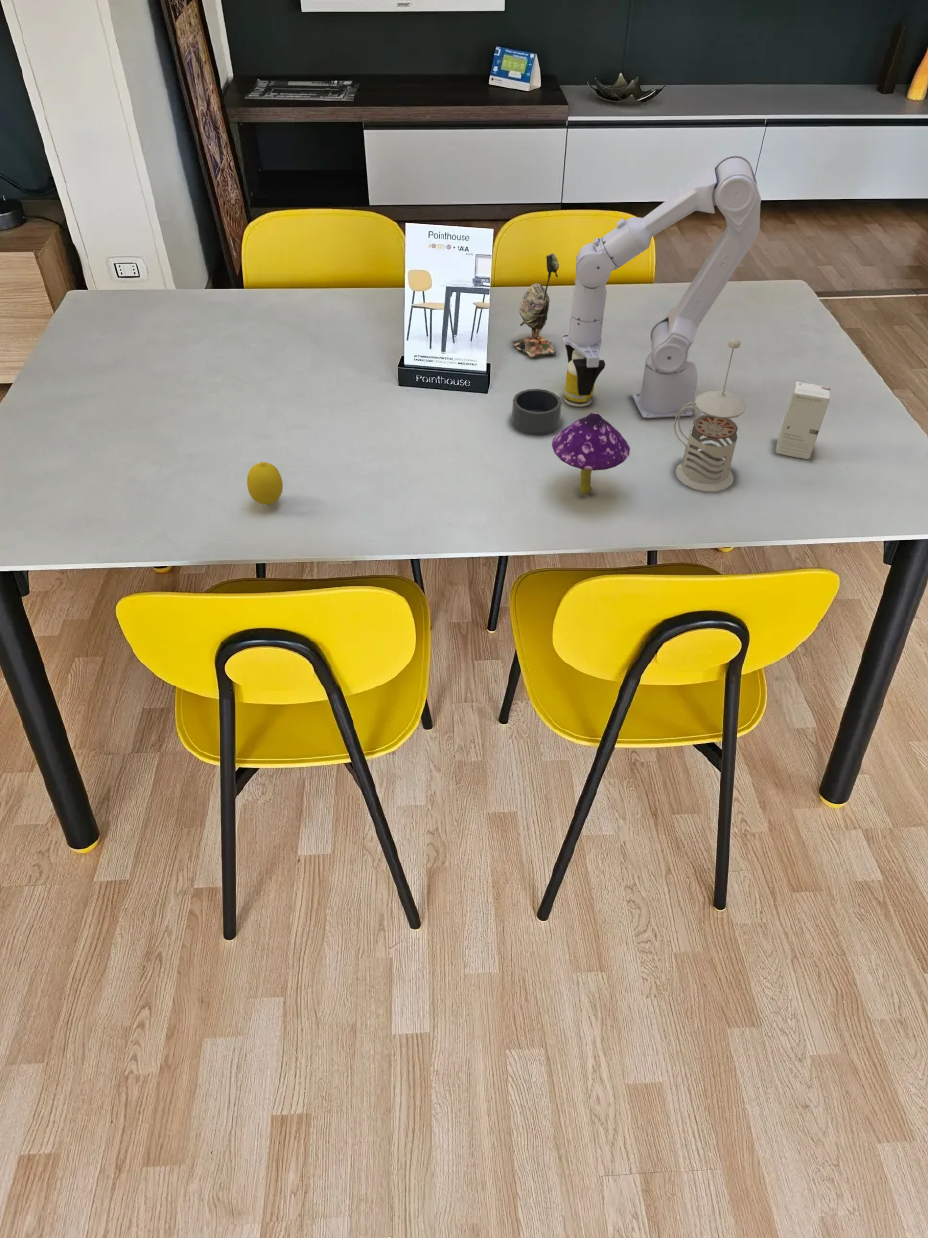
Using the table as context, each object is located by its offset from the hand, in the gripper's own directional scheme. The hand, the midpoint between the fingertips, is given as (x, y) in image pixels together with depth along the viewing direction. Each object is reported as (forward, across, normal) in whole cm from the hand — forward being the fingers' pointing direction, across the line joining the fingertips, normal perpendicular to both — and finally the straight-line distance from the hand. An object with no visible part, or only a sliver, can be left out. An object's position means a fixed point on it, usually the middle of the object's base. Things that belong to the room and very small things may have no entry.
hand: (579, 384), depth 177 cm
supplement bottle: (+4, 0, 0) cm, 4 cm away
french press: (+4, +26, +16) cm, 30 cm away
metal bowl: (+3, +7, -10) cm, 12 cm away
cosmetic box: (+4, +21, +34) cm, 41 cm away
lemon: (+4, +27, -58) cm, 64 cm away
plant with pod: (+4, -22, -4) cm, 23 cm away
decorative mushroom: (+4, +29, -5) cm, 30 cm away
